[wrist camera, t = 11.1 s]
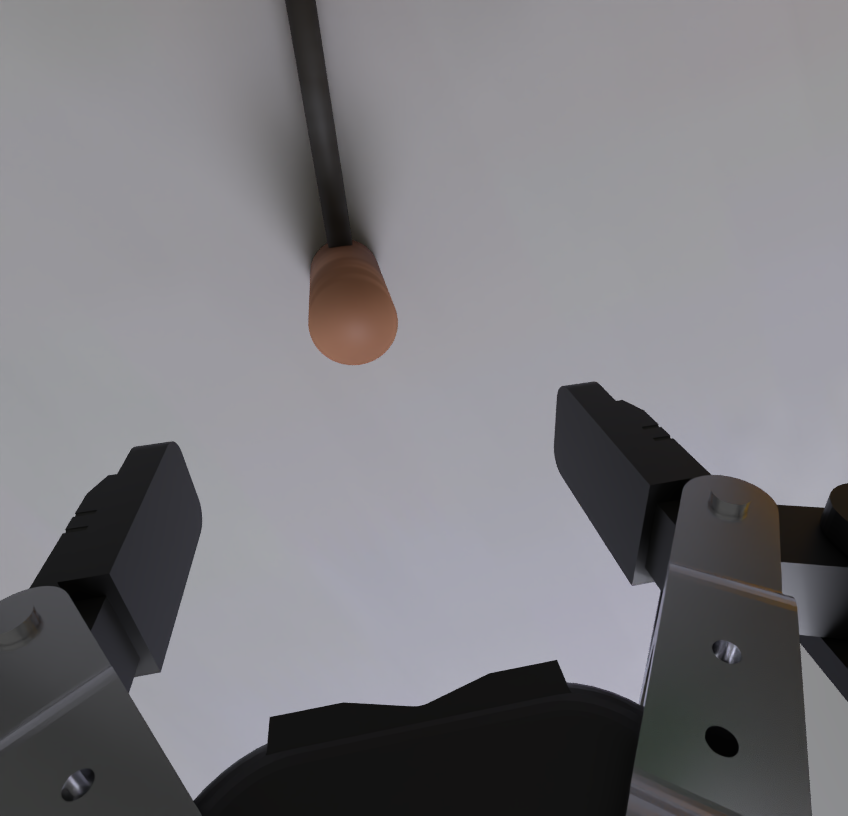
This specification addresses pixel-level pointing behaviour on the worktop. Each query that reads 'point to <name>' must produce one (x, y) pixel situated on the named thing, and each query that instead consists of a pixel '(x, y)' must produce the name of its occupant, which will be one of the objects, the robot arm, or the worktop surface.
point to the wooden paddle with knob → (336, 224)
